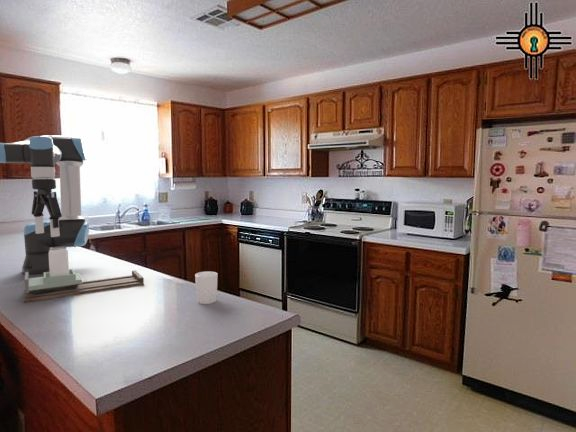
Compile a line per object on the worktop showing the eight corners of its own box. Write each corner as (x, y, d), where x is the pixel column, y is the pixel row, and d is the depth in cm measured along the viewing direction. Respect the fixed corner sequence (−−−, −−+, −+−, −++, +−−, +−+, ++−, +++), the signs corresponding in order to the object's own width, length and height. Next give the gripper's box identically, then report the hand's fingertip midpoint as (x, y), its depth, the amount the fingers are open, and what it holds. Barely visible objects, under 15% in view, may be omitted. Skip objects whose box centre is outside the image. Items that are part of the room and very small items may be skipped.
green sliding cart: (26, 287, 150) (25, 272, 149) (78, 280, 160) (78, 266, 159) (25, 296, 139) (24, 279, 138) (82, 288, 149) (81, 272, 148)
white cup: (221, 299, 142) (221, 272, 141) (210, 305, 134) (210, 277, 133) (203, 296, 144) (202, 270, 143) (191, 303, 137) (190, 275, 136)
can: (60, 281, 146) (58, 249, 145) (45, 280, 148) (43, 249, 146) (73, 276, 152) (71, 246, 151) (59, 275, 154) (57, 246, 153)
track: (25, 292, 151) (24, 284, 150) (135, 276, 173) (135, 270, 173) (24, 302, 138) (23, 294, 138) (143, 284, 160) (143, 277, 160)
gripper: (69, 178, 140) (73, 236, 142) (40, 178, 155) (44, 230, 157) (47, 178, 134) (51, 239, 136) (19, 178, 149) (23, 233, 151)
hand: (47, 235), depth 147 cm, fingers open, 13 cm apart
